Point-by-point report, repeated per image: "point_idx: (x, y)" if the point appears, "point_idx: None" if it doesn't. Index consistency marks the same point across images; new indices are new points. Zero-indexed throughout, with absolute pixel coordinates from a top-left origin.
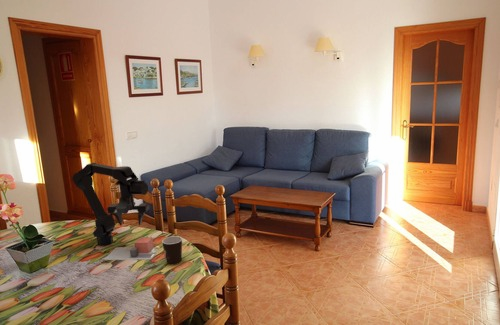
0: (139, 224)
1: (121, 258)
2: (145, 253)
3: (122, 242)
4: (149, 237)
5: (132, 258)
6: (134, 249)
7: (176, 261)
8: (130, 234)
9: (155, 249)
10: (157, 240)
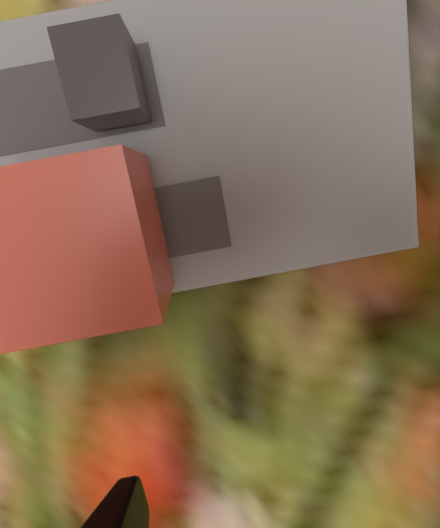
0: (118, 490)
1: (225, 9)
2: None
3: (426, 381)
4: (23, 341)
5: None
6: (75, 51)
7: None
8: (434, 519)
9: None
10: (143, 463)
